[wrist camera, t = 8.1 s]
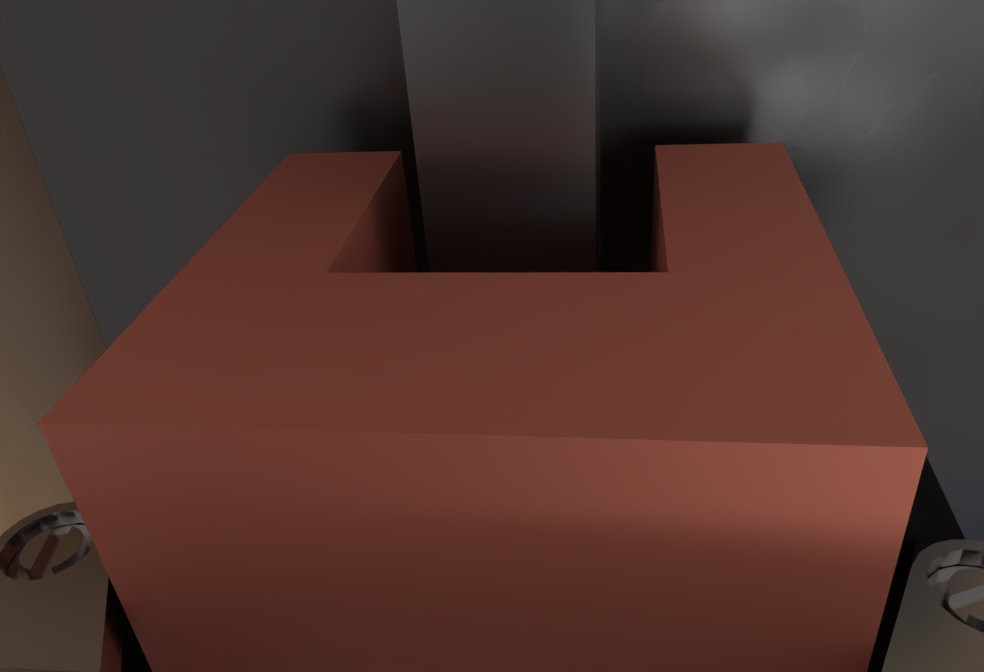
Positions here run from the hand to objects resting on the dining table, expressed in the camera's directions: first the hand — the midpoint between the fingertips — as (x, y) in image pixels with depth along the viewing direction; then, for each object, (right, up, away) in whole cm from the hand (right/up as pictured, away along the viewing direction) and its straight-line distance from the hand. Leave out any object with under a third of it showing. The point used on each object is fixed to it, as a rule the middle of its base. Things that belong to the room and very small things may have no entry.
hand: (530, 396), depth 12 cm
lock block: (0, 0, +1) cm, 1 cm away
